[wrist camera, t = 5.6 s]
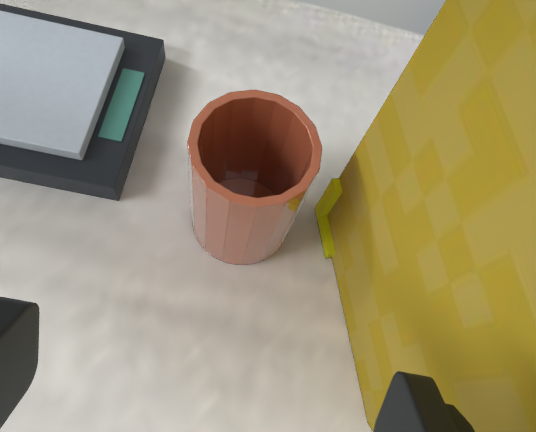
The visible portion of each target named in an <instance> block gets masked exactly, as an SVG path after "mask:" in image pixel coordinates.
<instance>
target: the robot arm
mask: <svg viewBox="0 0 536 432" xmlns="http://www.w3.org/2000/svg"><path fill="white" fill-rule="evenodd" d="M38 344H39V307H38V305H37V304H36V303H32V302H27V301H21V300H16V299H10V298H5V297H0V428H1V427H2V425H3V424H4V423H5V421H6V420H7V418H8V417H9V415H10V414H11V413H12V411H13V410H14V408H15V407H16V406H17V404H18V403H19V401H20V400H21V399H22V397H23V396H24V394H25V393H26V391H27V390H28V388H29V387H30V385H31V383H32V380H33V378H34V375H35V372H36V369H37V364H38ZM374 432H475V431H474V429H473V427H472V425H471V424H470V423H469V422H468V421H467V420H466V418H465V417H464V416H463V415H462V414H461V413H460V412H459V411H458V410H457V408H456V407H455V406H454V405H451V404H445V402H444V400H443V398H442V396H441V394H440V391H439V389H438V387H437V385H436V383H435V381H434V379H433V378H431V377H428V376H423V375H417V374H412V373H406V372H401V371H397V372H396V373H395V374H394V376H393V378H392V380H391V383H390V385H389V388H388V390H387V393H386V396H385V398H384V401H383V403H382V406H381V409H380V411H379V414H378V416H377V419H376V422H375V426H374Z"/></svg>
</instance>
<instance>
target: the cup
mask: <svg viewBox="0 0 536 432" xmlns="http://www.w3.org/2000/svg"><path fill="white" fill-rule="evenodd" d="M187 147H188V166H189V185H190V204H191V217H192V224H193V229H194V233H195V235H196V238H197V239H198V241H199V243H200V244H201V245H202V247H203V248H204V249H205V250H206V251H207V252H208V253H209V254H211V255H212V256H213V257H215V258H217V259H219V260H221V261H223V262H226V263H230V264H236V265H247V264H253V263H257V262H260V261H262V260H264V259H266V258H268V257H269V256H271V255H272V254H273V253H274V252H275V251H276V250H277V249H278V248H279V247H280V246H281V244H282V242H283V241H284V239H285V237H286V236H287V234H288V232H289V230H290V228H291V226H292V224H293V222H294V220H295V218H296V216H297V214H298V212H299V210H300V208H301V206H302V204H303V202H304V200H305V198H306V196H307V194H308V192H309V190H310V188H311V186H312V184H313V182H314V180H315V178H316V176H317V174H318V172H319V169H320V162H321V154H322V145H321V142H320V139H319V136H318V133H317V130H316V127H315V125H314V124H313V122H312V121H311V120H310V119H309V118H308V116H307V115H306V114H305V113H304V112H303V110H302V109H301V108H300V107H299V106H297V105H295V104H294V103H292V102H290V101H288V100H287V99H285V98H283V97H282V96H280V95H277V94H273V93H268V92H264V91H259V90H246V91H237V92H230V93H227V94H225V95H223V96H221V97H219V98H217V99H215V100H213V101H211V102H209V103H208V104H207V105H206V106H205V107H204V109H203V110H202V111H201V112H200V113H199V114H198V116H197V117H196V118H195V119H194V121H193V123H192V127H191V130H190V134H189V138H188V141H187Z"/></svg>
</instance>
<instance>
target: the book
mask: <svg viewBox="0 0 536 432" xmlns="http://www.w3.org/2000/svg"><path fill="white" fill-rule="evenodd" d="M315 211H316V216H317V221H318V226H319V230H320V235H321V240H322V244H323V249H324V254H325V258H331V257H332V260H333V265H334V269H335V274H336V278H337V283H338V288H339V292H340V297H341V301H342V306H343V311H344V315H345V320H346V325H347V329H348V334H349V338H350V343H351V348H352V352H353V357H354V361H355V366H356V371H357V375H358V380H359V384H360V389H361V394H362V398H363V403H364V407H365V412H366V417H367V421H368V424H369V426H370V427H371V429H372V431H373V432H374V426H375V422H376V419H377V416H378V414H379V411H380V409H381V406H382V403H383V401H384V398H385V396H386V393H387V390H388V388H389V385H390V383H391V380H392V378H393V376H394V374H395V373H396V372H397V371H401V372H406V373H412V374H417V375H423V376H428V377H431V378H433V379H434V381H435V383H436V385H437V387H438V389H439V391H440V394H441V396H442V398H443V400H444V402H445V404H451V405H454V406H455V407H456V408H457V410H458V411H459V412H460V413H461V414H462V415H463V416H464V417H465V418H466V420H467V421H468V422H469V423H470V424H471V425H472V427H473V429H474V431H475V432H536V0H446V1H445V3H444V5H443V6H442V8H441V10H440V11H439V13H438V15H437V16H436V18H435V20H434V21H433V23H432V25H431V26H430V28H429V29H428V31H427V33H426V34H425V36H424V38H423V39H422V41H421V43H420V44H419V46H418V48H417V49H416V51H415V53H414V54H413V56H412V58H411V59H410V61H409V63H408V64H407V66H406V68H405V69H404V71H403V73H402V74H401V76H400V78H399V79H398V81H397V83H396V84H395V86H394V88H393V89H392V91H391V93H390V94H389V96H388V98H387V99H386V101H385V102H384V104H383V106H382V107H381V109H380V111H379V112H378V114H377V116H376V117H375V119H374V121H373V122H372V124H371V126H370V127H369V129H368V131H367V132H366V134H365V136H364V137H363V139H362V141H361V142H360V144H359V146H358V147H357V149H356V151H355V152H354V154H353V156H352V157H351V159H350V161H349V162H348V164H347V166H346V167H345V169H344V170H343V172H342V174H341V175H340V177H339V178H334V179H332V180H331V182H330V183H329V185H328V187H327V189H326V190H325V192H324V194H323V195H322V197H321V199H320V201H319V202H318V203H317V205H316V207H315Z"/></svg>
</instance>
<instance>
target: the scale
mask: <svg viewBox="0 0 536 432" xmlns="http://www.w3.org/2000/svg"><path fill="white" fill-rule="evenodd" d="M164 60H165V51H164V41H163V40H162V39H157V38H153V37H148V36H144V35H139V34H135V33H130V32H126V31H121V30H117V29H112V28H108V27H103V26H99V25H94V24H90V23H85V22H81V21H76V20H72V19H67V18H63V17H58V16H54V15H49V14H45V13H40V12H36V11H31V10H27V9H22V8H18V7H13V6H9V5H4V4H0V177H2V178H7V179H12V180H17V181H22V182H27V183H32V184H37V185H42V186H47V187H52V188H57V189H62V190H67V191H72V192H77V193H82V194H87V195H92V196H97V197H102V198H107V199H112V200H117V201H119V199H120V196H121V193H122V190H123V187H124V183H125V180H126V177H127V174H128V171H129V168H130V165H131V162H132V159H133V156H134V153H135V150H136V146H137V143H138V140H139V137H140V134H141V131H142V128H143V125H144V122H145V119H146V116H147V113H148V109H149V106H150V103H151V100H152V97H153V94H154V91H155V88H156V85H157V82H158V79H159V76H160V72H161V69H162V66H163V63H164Z"/></svg>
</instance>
